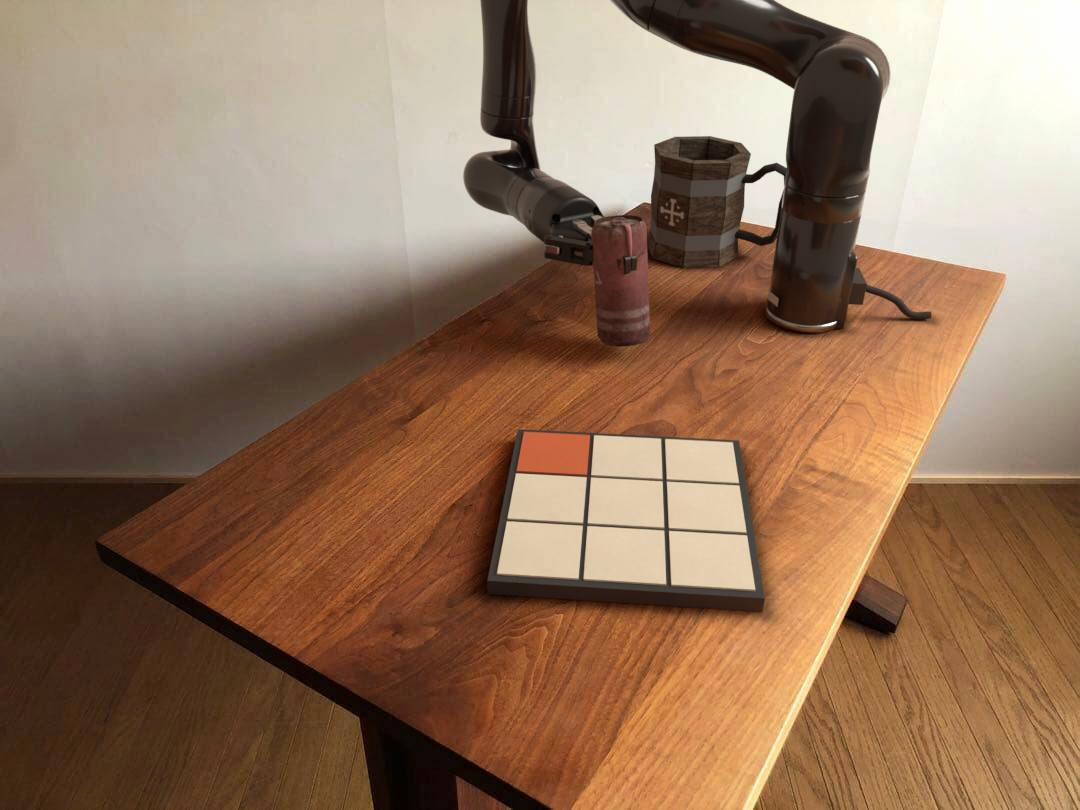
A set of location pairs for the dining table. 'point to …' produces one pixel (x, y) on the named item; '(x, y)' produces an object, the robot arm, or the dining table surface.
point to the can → (621, 280)
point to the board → (627, 522)
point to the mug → (702, 201)
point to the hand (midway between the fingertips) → (631, 265)
